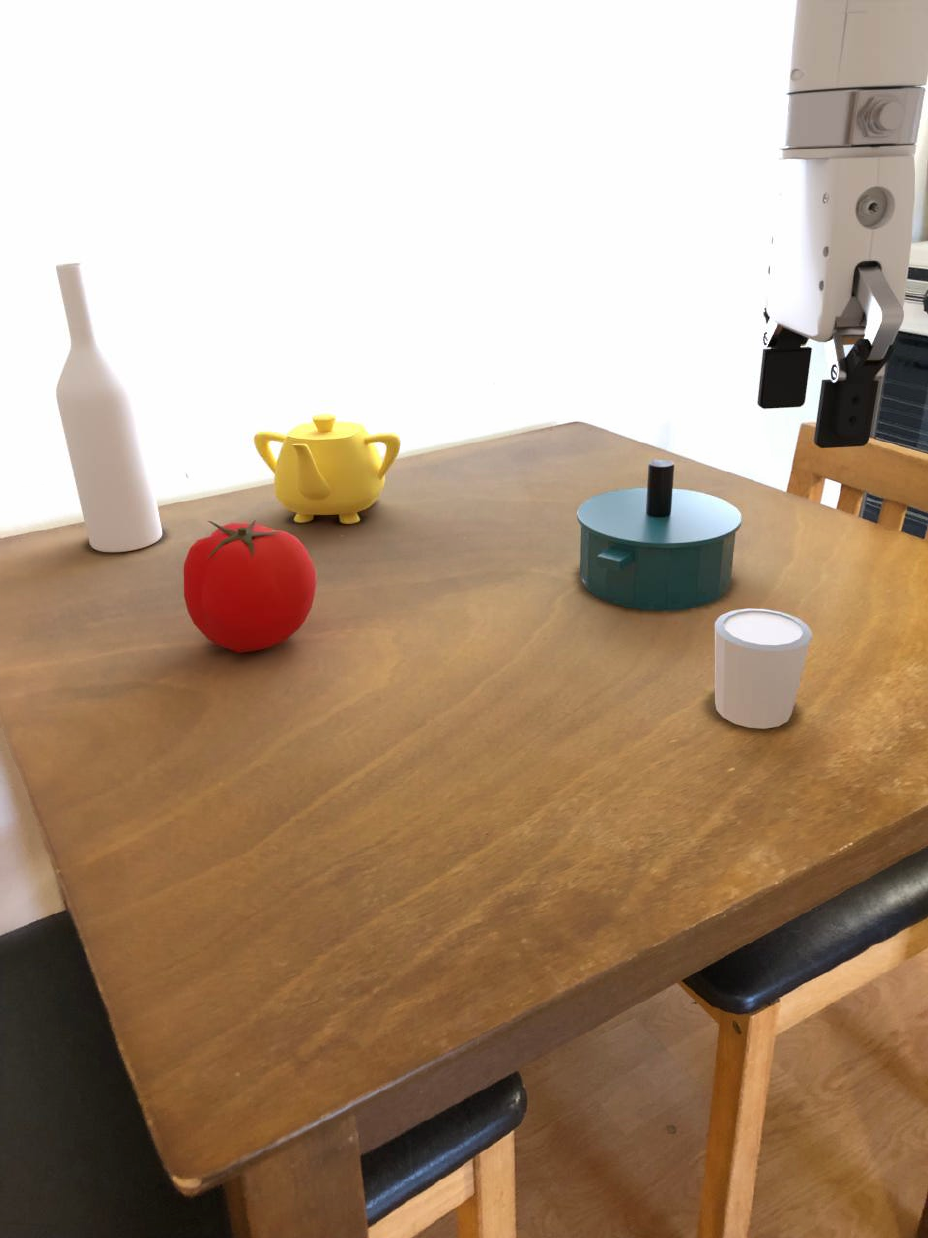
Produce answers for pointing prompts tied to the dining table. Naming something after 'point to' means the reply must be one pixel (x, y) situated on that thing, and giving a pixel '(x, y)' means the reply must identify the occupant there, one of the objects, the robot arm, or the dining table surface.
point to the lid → (659, 514)
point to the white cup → (758, 666)
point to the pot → (655, 573)
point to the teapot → (328, 467)
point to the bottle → (103, 432)
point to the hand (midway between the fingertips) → (808, 424)
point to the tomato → (248, 586)
